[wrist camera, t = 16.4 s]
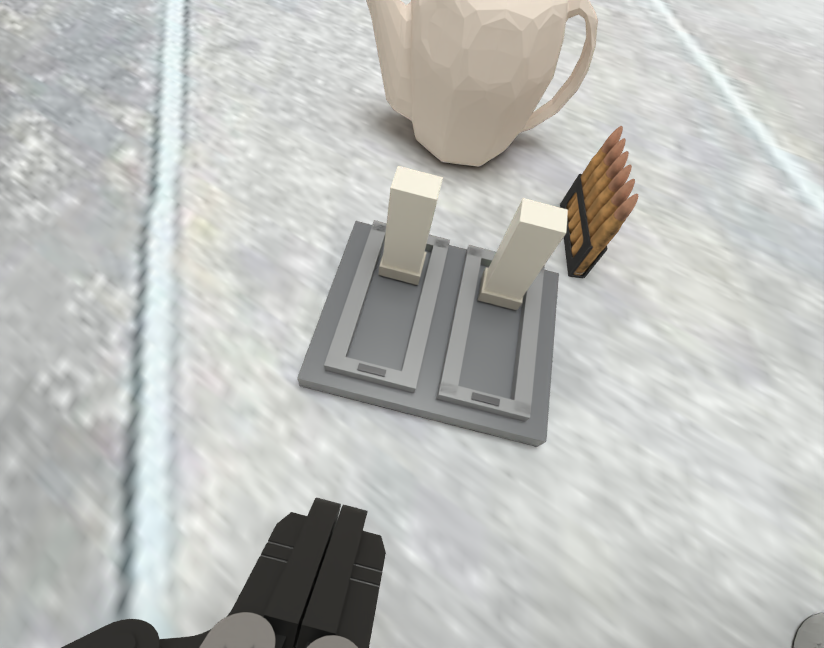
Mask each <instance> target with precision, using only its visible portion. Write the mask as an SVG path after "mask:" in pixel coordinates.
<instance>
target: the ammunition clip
mask: <svg viewBox="0 0 824 648" xmlns="http://www.w3.org/2000/svg"><path fill="white" fill-rule="evenodd" d="M622 130H623V127H622V126H620V127H619V128H617V129H616V130H615V131H614V132H613V133H612V134H611V135H610V136H609V137H608V139H607V140H606V141H605V143H604V144H603V146H602V147H601V148H600V150H599V151H598V153H597V154H596V155H595V156H594V157H593V158H592V159H591V161H590V163H589V164H588V166H587V167H586V169H585V171H584V172H583V174H579V175H578V177H577V178H576V180H575V181H574V183H573V185H572V186H571V188H570V189H569V191H568V192H567V194H566V196H565V197H564V199H563V200H562V202H561V203H560V208H563V209H567V210H568V214H567V229H566V234H565V236H564V243H565V251H566V260H567V268H568V276H571V277H579V278H585V277H586V275H587V274H588V273H589V272H590V270H591V269H592V268H593V267H594V265H595V264H596V263H597V262H598V261H599V259H600V258H601V257H602V256H603V254H604V253H605V252H606V251H607V244H608V243H609V242H610V241H611V240H612V238H613V237H614V236H615V235H616V234H617V232H618V231H619V229H620V227H621V225H622V224H623V223H624V221H625V220H626V218H627V217H628V216H629V214H630V213H631V211H632V210H633V208H634V206H635V205H636V202H637V199H638V194H634V195H632V196H631V197H629V198H628V196H629V195H630V193H631V191H632V189H633V186H634V183H635V179H632V180H630V181H628V182H627V183H625V182H626V181H627V179H628V177H629V174H630V172H631V167H632V166H631V165H628V166H626V167H625V168H623V167H624V166H625V163H626V161H627V158H628V151H626V152H624V153H623V154H621V153H622V151H623V148H624V146H625V141H626V140H625V138H624V139H622V140H620V141H619V139H620V137H621V134H622ZM618 141H619V142H618ZM627 198H628V199H627Z"/></svg>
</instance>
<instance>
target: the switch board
mask: <svg viewBox="0 0 824 648" xmlns="http://www.w3.org/2000/svg"><path fill="white" fill-rule="evenodd" d="M386 225H387V223H383V222H379V221H375V220H374V222H373V225H370V224H366V223H362V222H358V221H356V222H355V224H354V227H353V230H352V232H351V235H350V238H349V240H348V243H347V246H346V249H345V251H344V254H343V257H342V259H341V262H340V265H339V267H338V270H337V273H336V275H335V278H334V281H333V284H332V286H331V289H330V292H329V294H328V297H327V300H326V302H325V305H324V308H323V310H322V313H321V316H320V319H319V321H318V324H317V327H316V329H315V332H314V335H313V337H312V340H311V343H310V345H309V348H308V351H307V354H306V356H305V359H304V362H303V364H302V367H301V370H300V372H299V375H298V378H297V379H298V382H299V385H300V386H303V387H306V388H310V389H314V390H318V391H322V392H326V393H330V394H334V395H338V396H342V397H345V398H349V399H353V400H357V401H361V402H365V403H369V404H373V405H377V406H381V407H385V408H388V409H392V410H396V411H400V412H404V413H408V414H412V415H416V416H420V417H424V418H428V419H431V420H435V421H439V422H443V423H447V424H451V425H455V426H459V427H463V428H467V429H471V430H474V431H478V432H482V433H486V434H490V435H494V436H498V437H502V438H506V439H510V440H513V441H517V442H521V443H525V444H529V445H533V446H537V447H538V446H539V445H541V444H543V443H545V442H546V438H547V424H548V411H549V398H550V384H551V371H552V358H553V344H554V331H555V318H556V304H557V291H558V278H559V273H555V272H551V271H547V270H544V266H545V265H544V266H543V268H542V269H541V271H540V272H539V274H538V275H537V277H536V278H535V279H534V281H533V282H532V284H531V285H530V287H529V288H528V290H527V291H526V293H525V294H524V296H523V301H522V304H521V306H520V307H519V308H518V310H513V309H509V308H505V307H501V306H498V305H494V304H490V303H486V302H482V301H478V295H479V289H480V283H481V278H482V274H483V272H484V270H485V268H486V267H487V268H489V266H490V264H491V262H492V260H493V258H494V256H495V254H496V252H495V251H491V250H487V249H483V248H479V247H476V246H472V245H469V246H468V249H467V250H466V249H463V248H459V247H455V246H451V245H449V242H450V240H449V239H445V238H441V237H437V236H433V235H429V236H428V240H427V244H426V248H425V252H427V253H426V257H425V260H424V264H423V268H422V272H421V276H420V280H419V284H418V285H415V284H412V283H408V282H404V281H400V280H396V279H392V278H388V277H384V276H381V275H379V266H380V263H381V259H382V256H383V252H384V243H385V234H386Z"/></svg>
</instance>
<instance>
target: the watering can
mask: <svg viewBox="0 0 824 648" xmlns="http://www.w3.org/2000/svg"><path fill="white" fill-rule="evenodd" d="M366 1H367V5H368V8H369V11H370V14H371V18H372V23H373V29H374V34H375V40H376V45H377V51H378V56H379V62H380V67H381V73H382V78H383V84H384V89H385V95H386V100H387V101H388V103H389V104H390V105H391V107H392V108H393V110H395V111H396V112H398V113H399V114H401V115H403V116H404V117H406V118H408V119H409V120H411V121H412V123H413V130H414V134H415V138H416V140H417V141H418V142H419V143H420V144H422V145H423V146H424V147H425V148H426V149H427V150H428V151H430V152H431V153H432V154H433V155H434V156H436V157H437V158H438V159H439V160H440V161H441V162H446V163H454V164H461V165H470V166H479V167H480V166H481V165H483V164H485V163H486V162H488V161H489V160H491V159H492V158H494V157H495V156H497V155H499V154H500V153H502V152H504V151H505V149H506V148H507V147H508V146H509V145H510V144H511V143H512V142H513V140H514V139H515V138H516V137H517V135H518V134H519V133H520V132H524V131H527V130H530V129H532V128H534V127H535V126H537V125H539V124H540V123H542V122H544V121H545V120H547V119H548V118H550V117H552V116H553V115H555V114H556V113H558V112H559V111H560V109H561V108H562V107H563V106H564V105H565V104H566V103H567V102H568V100H569V99H570V98H571V97H572V96H573V95H574V94H575V93H576V91H577V90H578V88H579V86H580V85H581V83H582V81H583V79H584V78H585V76H586V74H587V72H588V70H589V67H590V63H591V60H592V56H593V53H594V50H595V46H596V35H597V23H598V19H597V16H596V12H595V11H594V9H593V7H592V5H591V3H590V1H589V0H411V2H410V3H409V4H407V5H405V4H404V3H403V2H402V1H400V0H366ZM578 14H579V15H580V16H582V17H583V18H584V19H585V22H586V40H585V43H584V46H583V50H582V53H581V56H580V59H579V61H578V62H577V64H576V66H575V68H574V70H573V72H572V74H571V76H570V77H569V78H568V80H567V81H566V82H565V83H564V85H563V86H562V87H561V88H560V90H559V91H558V92H557V93H556V95H555V96H554V97H553V98H552V100H550V101H549V102H547V103H546V104H544V105H543V106H541V107H540V108H539V109H537V110H536V111H534V110H535V108H536V106H537V104H538V103H539V101H540V99H541V97H542V96H543V94H544V92H545V91H546V89H547V87H548V85H549V84H550V82H551V80H552V79H553V77H554V73H555V69H556V65H557V62H558V58H559V54H560V51H561V47H562V43H563V39H564V33H565V25H566V21H567V20H568V18H571V17H573V16H576V15H578ZM533 111H534V112H533Z"/></svg>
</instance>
